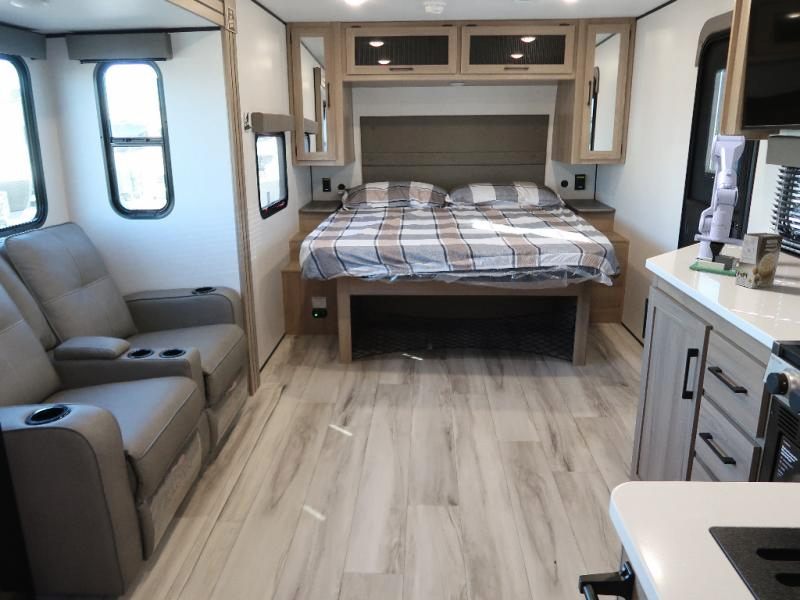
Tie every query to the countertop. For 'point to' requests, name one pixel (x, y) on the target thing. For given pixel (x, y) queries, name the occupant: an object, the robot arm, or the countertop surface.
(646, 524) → the countertop surface
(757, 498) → the countertop surface
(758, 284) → the coffee box
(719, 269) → the board
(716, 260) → the plug
